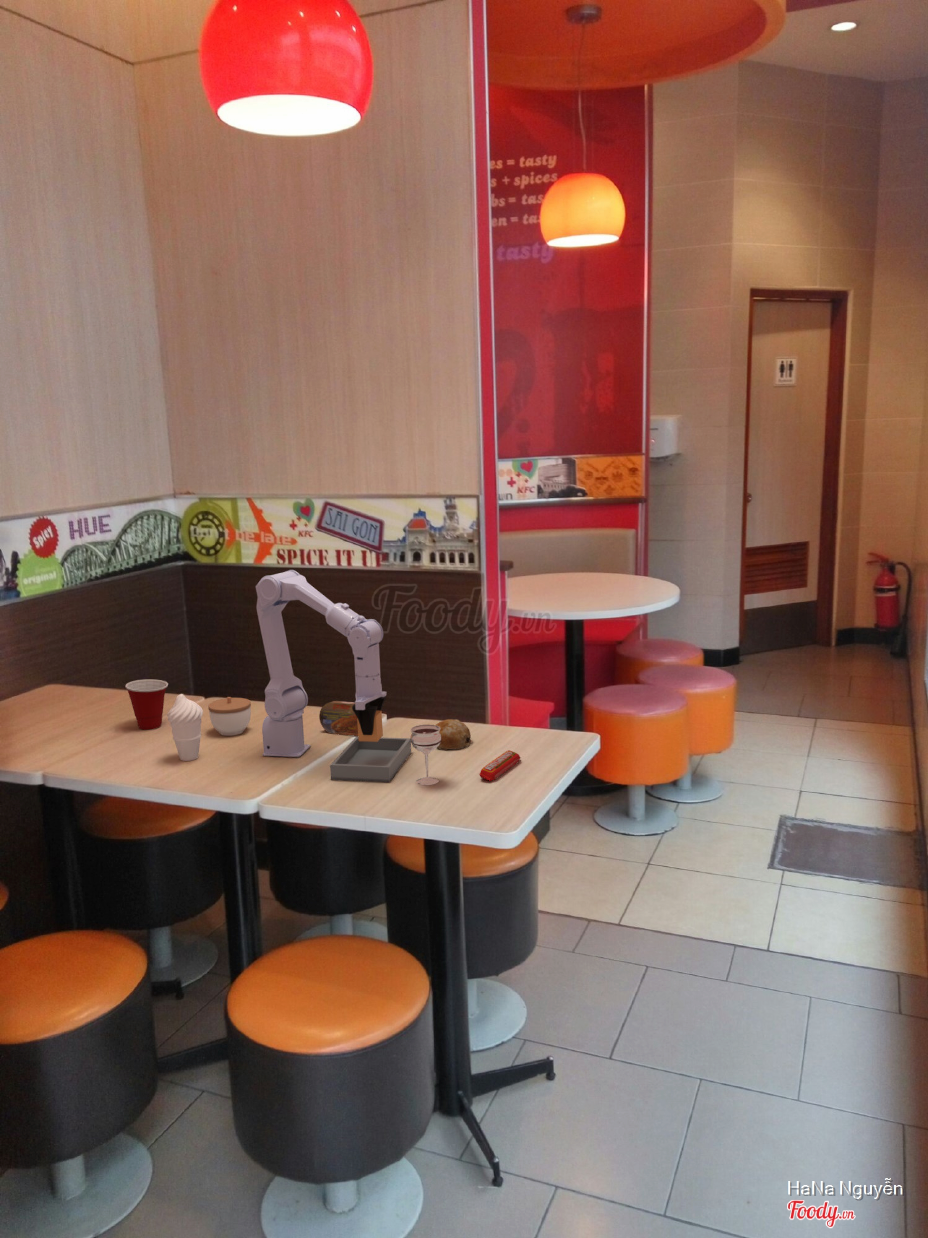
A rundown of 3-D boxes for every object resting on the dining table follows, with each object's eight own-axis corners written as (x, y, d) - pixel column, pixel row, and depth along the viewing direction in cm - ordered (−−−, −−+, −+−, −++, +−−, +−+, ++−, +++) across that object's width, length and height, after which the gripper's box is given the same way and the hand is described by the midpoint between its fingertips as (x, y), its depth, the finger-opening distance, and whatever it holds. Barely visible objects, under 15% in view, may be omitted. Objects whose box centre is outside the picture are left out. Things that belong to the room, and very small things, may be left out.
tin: (319, 732, 252) (317, 701, 250) (325, 729, 255) (323, 698, 253) (371, 738, 246) (369, 706, 244) (377, 734, 249) (375, 702, 247)
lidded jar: (217, 741, 247) (213, 705, 245) (206, 730, 256) (202, 696, 254) (258, 733, 252) (255, 698, 250) (245, 723, 262) (243, 689, 260)
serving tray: (330, 779, 218) (330, 765, 218) (357, 750, 237) (356, 736, 237) (389, 782, 216) (388, 767, 215) (411, 752, 235) (410, 738, 234)
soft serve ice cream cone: (214, 754, 238) (208, 691, 234) (191, 766, 230) (185, 700, 227) (187, 750, 241) (181, 688, 238) (163, 761, 234) (157, 697, 230)
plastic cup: (164, 732, 256) (160, 688, 253) (123, 733, 256) (119, 689, 253) (177, 719, 266) (173, 677, 264) (137, 720, 266) (133, 678, 264)
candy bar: (491, 785, 213) (491, 772, 213) (476, 782, 215) (476, 769, 215) (523, 761, 227) (522, 749, 226) (509, 759, 229) (508, 747, 228)
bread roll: (458, 765, 235) (471, 737, 233) (420, 747, 236) (433, 718, 234) (466, 751, 245) (479, 724, 242) (430, 733, 246) (442, 706, 243)
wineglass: (423, 773, 220) (420, 722, 218) (448, 778, 217) (446, 726, 215) (406, 783, 215) (403, 731, 212) (432, 788, 211) (430, 735, 209)
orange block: (358, 741, 223) (357, 716, 222) (364, 734, 228) (362, 710, 227) (377, 741, 223) (376, 716, 221) (382, 735, 227) (381, 710, 226)
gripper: (375, 682, 214) (378, 741, 217) (393, 666, 228) (395, 721, 231) (344, 682, 216) (348, 740, 218) (364, 665, 230) (367, 720, 232)
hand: (370, 731), depth 225 cm, fingers closed on orange block, 4 cm apart
